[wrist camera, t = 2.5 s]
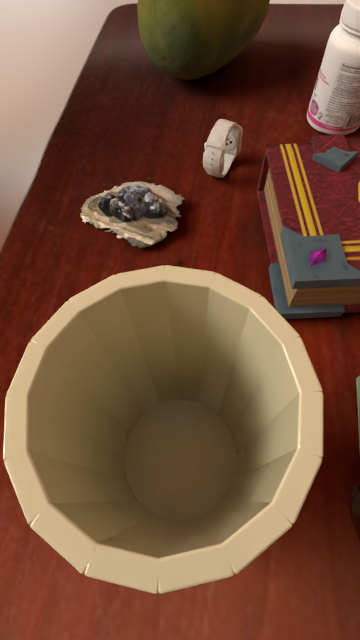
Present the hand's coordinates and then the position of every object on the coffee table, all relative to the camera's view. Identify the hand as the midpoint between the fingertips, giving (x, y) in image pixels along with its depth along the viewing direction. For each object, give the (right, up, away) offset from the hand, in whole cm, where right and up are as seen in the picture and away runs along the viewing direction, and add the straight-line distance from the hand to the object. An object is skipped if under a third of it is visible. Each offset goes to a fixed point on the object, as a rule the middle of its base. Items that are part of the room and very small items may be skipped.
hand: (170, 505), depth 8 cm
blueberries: (-4, +12, +18) cm, 22 cm away
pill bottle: (+14, +22, +22) cm, 34 cm away
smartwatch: (+4, +17, +20) cm, 26 cm away
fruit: (+2, +30, +27) cm, 41 cm away
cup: (0, -3, +9) cm, 10 cm away
